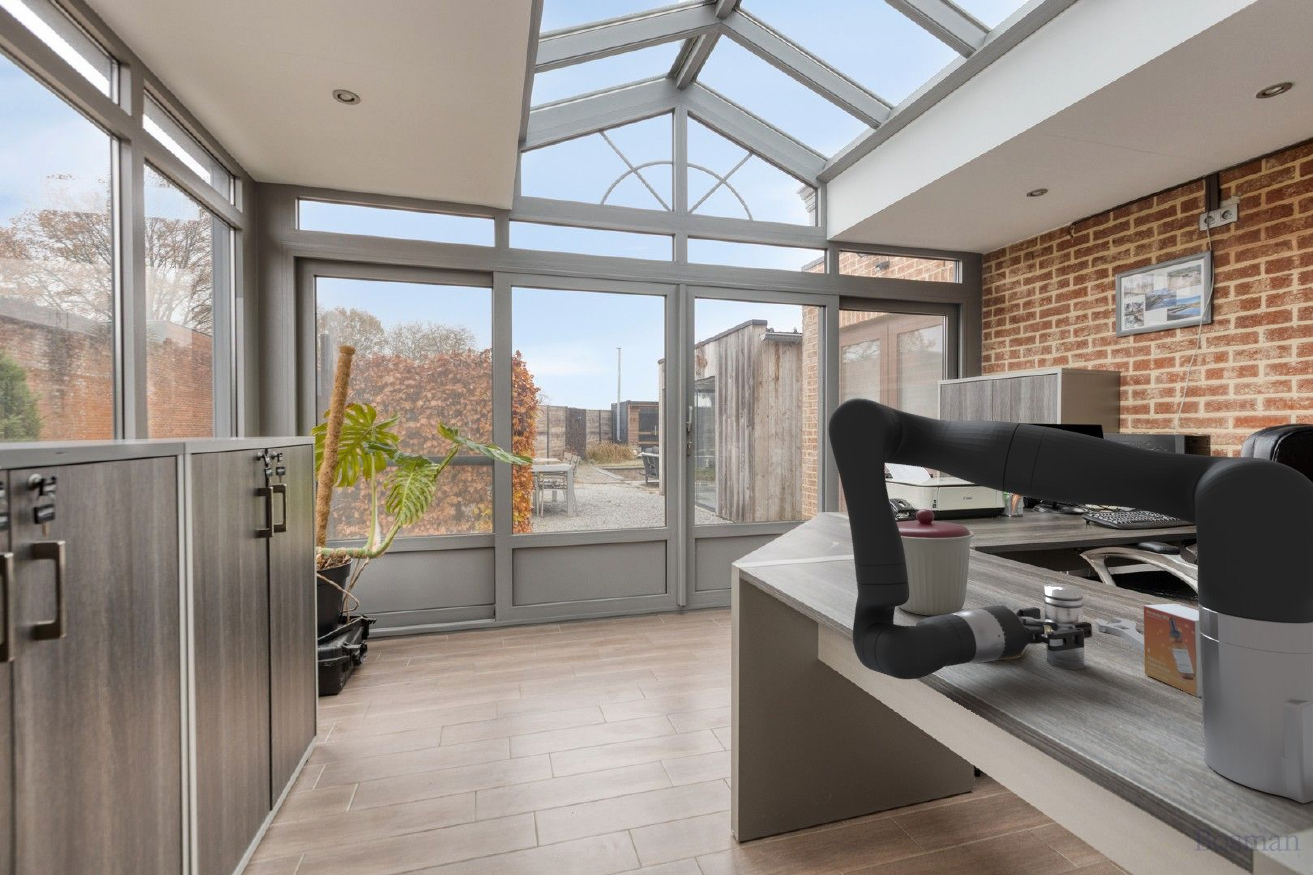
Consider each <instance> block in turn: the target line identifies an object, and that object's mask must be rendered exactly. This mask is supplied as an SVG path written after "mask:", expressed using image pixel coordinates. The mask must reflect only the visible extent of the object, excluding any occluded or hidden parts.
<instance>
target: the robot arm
mask: <svg viewBox="0 0 1313 875" xmlns="http://www.w3.org/2000/svg"><path fill="white" fill-rule="evenodd" d="M827 430H828V438H829V442H830V446H831V449H832V453H833V457H834V459H835V460H834V461H835V464H836V467H837V471H838V474H839V478H840V483H841V486H842V491H843V496H844V500H845V504H846V510H847V514H848V516H847V517H848V520H849V522H848V523H849V526H850V527H849V528H850V534H851V542H852V550H853V552H852V553H853V559H854V560H853V561H854V570H855V577H856V586H857V599H856V603H855V610H854V619H853V626H852V643H853V648H854V652H855V654H856V657H857V659H858V660H859V662H860V664H862V665H863V666H864V667H865V668H866V669H868V670H871V671H874V672H877V673H879V674H883V675H886V676H889V677H893V678H896V679H899V680H915V679H922V678H925V677H927V676H930V675H931V674H934V673H936V672H938V671H940V670H942V669H943V668H944V667H946V668H947V667H951V666H958V665H962V664H980V663H985V662H991V661H999V660H998V659H1001V660H1003V658H1009V657H1014V656H1017V655H1019V654H1020V653H1021V652H1022V651H1023V650H1024V648H1026V647H1027V646H1036V645H1045V646H1046V645H1048V650H1050V651H1053V652H1055V651H1062V650H1069V649H1076V648H1083V647H1084V648H1085V639H1088V638H1089V639H1090V638H1091V637H1093V626H1092V623H1091V622H1088V621H1083V622H1079V623H1073V624H1057V623H1056V622H1055V621H1053V620H1045V618H1044V619H1041V617H1042V616H1041V609H1040V607H1035V606H1034V607H1033V606H1032V607H1028V608H1021V609H1019V608H1018V607H1011V608H1009V607H1007V606H1006V605H998V604H997V605H991V606H982V607H976V608H971V609H970V608H969V609H963V610H962V609H961V610H960V611H958V612H955V613H952V614H946V615H939V616H930V617H929V616H928V617H925V618H922V619H921V620H920V621H918V622H917V623H916V624H915V625H900V624H895V623H894V621H895V620H894V617H895V610H896V607H899V606H900V605H903V604H905V603H906V602H907V601H908V599H909V584H908V575H907V567H906V559H905V553H904V547H903V543H902V539H901V535H900V532H899V528H898V525H897V522H898V521H897V520H896V517H895V514H894V512H893V509H892V505H891V501H890V498H889V497H890V496H889V493H888V487H887V480H886V471H885V470H886V468H885V467H886V464H893V465H903V466H910V467H918V468H925V469H928V470H929V469H930V470H934V471H937V472H941V473H944V474H946V475H949V476H952V477H954V478H957V479H959V480H963V481H965V482H969V483H971V484H975V485H978V486H981V487H983V488H988V489H992V490H996V491H999V492H1004V493H1008V494H1013V495H1016V496H1017V495H1018V496H1021V497H1026V498H1032V499H1037V500H1043V501H1050V502H1055V503H1056V502H1057V503H1065V504H1073V505H1074V504H1076V505H1087V506H1100V507H1101V506H1103V507H1117V508H1119V507H1120V508H1126V509H1127V508H1128V509H1134V510H1141V511H1143V512H1144V511H1145V512H1148V513H1153V514H1157V515H1160V516H1161V515H1162V516H1165V517H1169V518H1172V519H1176V520H1180V521H1183V522H1187V523H1190V524H1194V525H1196V526H1195V527H1196V528H1195V530H1196V553H1197V556H1196V557H1197V578H1196V579H1197V582H1196V584H1197V587H1196V588H1197V601H1198V603H1197V604H1198V605H1197V606H1198V611H1199V636H1200V661H1201V687H1202V697H1201V705H1202V706H1201V707H1202V709H1201V710H1202V726H1203V728H1202V729H1203V737H1202V740H1203V742H1202V743H1203V747H1204V761H1205V763H1206V764H1207V766H1208V767H1210V768H1211V769H1212V770H1213V771H1215V772H1216V773H1218V774H1219V775H1221V776H1223V777H1225V778H1226V779H1229V780H1231V781H1233V782H1236V783H1238V784H1240V785H1242V786H1244V787H1245V786H1246V787H1248V788H1250V789H1253V790H1254V789H1255V790H1257V791H1261V792H1264V793H1268V794H1272V795H1277V796H1282V797H1285V798H1288V799H1290V800H1294V801H1296V802H1298V803H1301V804H1306V803H1309V802H1313V481H1311V480H1310V479H1309V478H1308V477H1307V475H1306V476H1305V474H1303V473H1302V472H1300V471H1298V469H1295V468H1293V467H1291V466H1288V465H1286V464H1283V463H1282V462H1277V461H1275V460H1271V459H1268V458H1262V457H1249V456H1247V457H1246V456H1239V457H1238V456H1233V457H1232V456H1217V455H1203V454H1191V453H1180V452H1168V451H1161V450H1152V449H1146V448H1141V447H1136V446H1134V445H1133V446H1132V445H1128V444H1124V443H1121V442H1118V441H1113V440H1108V439H1107V438H1106V439H1105V438H1103V437H1102V438H1101V437H1097V436H1094V435H1093V436H1092V435H1089V434H1084V433H1080V432H1075V431H1069V430H1065V429H1064V430H1063V429H1060V428H1054V427H1048V426H1042V425H1041V426H1040V425H1034V424H1028V423H1020V422H1012V421H1010V422H1009V421H1002V420H1001V421H1000V420H999V421H997V420H947V419H946V420H944V419H936V418H931V417H929V416H928V417H927V416H924V415H923V416H922V415H919V414H915V413H911V412H906V411H903V410H899V409H896V408H893V407H890V406H888V405H885V404H882V403H880V402H877V401H874V400H871V399H867V398H861V397H856V398H851V399H847V400H845V401H843V402H841V403H840V404H839V405H838V406H837V407H835V409H834V410H833V412H832V413H831V415H830V418H829V422H828V429H827ZM1045 625H1049V626H1050V632H1047V635H1046V631H1045ZM1058 629H1066V630H1059V631H1058Z"/></svg>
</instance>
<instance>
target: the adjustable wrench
mask: <svg viewBox="0 0 1313 875" xmlns="http://www.w3.org/2000/svg"><path fill="white" fill-rule="evenodd" d="M1110 619H1111V621H1110V622H1109V621H1107V620H1104V619H1101V618H1095V620H1094V621H1095V622H1094V625H1095V626H1094V627H1095V629H1096V630H1098V632H1102V633H1107V634H1111V635H1115V636H1118V637H1120V638H1123V639H1124V640H1126V641H1127V642H1129V643H1131V644H1132V645H1134V646H1135V647H1136V648H1138V649H1139V650H1142V651H1143V652H1144V634H1142V633H1140V632H1138V630H1137V623H1136V622H1135V621H1133V620H1130V619H1126V618H1121V617H1115V616H1114V617H1113V616H1112V617H1111V618H1110Z"/></svg>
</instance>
